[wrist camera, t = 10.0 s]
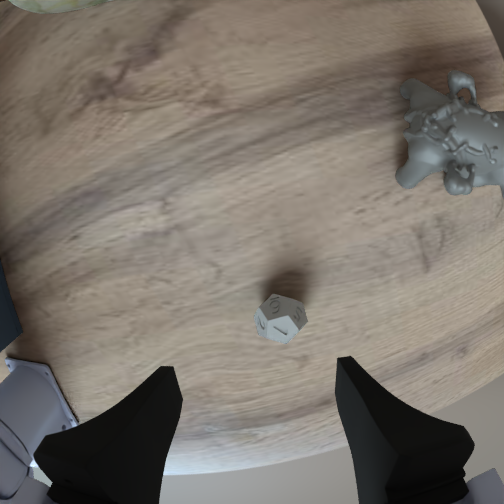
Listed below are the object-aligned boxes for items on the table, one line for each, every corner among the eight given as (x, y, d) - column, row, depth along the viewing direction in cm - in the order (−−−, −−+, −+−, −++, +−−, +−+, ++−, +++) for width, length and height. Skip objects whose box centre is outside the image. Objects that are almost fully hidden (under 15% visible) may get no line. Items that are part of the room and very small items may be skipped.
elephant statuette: (368, 86, 18) (417, 53, 10) (488, 81, 16) (549, 68, 9) (396, 214, 20) (454, 241, 13) (507, 188, 19) (570, 203, 12)
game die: (274, 277, 22) (276, 294, 19) (314, 305, 22) (320, 325, 19) (244, 312, 23) (242, 333, 20) (284, 338, 23) (286, 360, 20)
